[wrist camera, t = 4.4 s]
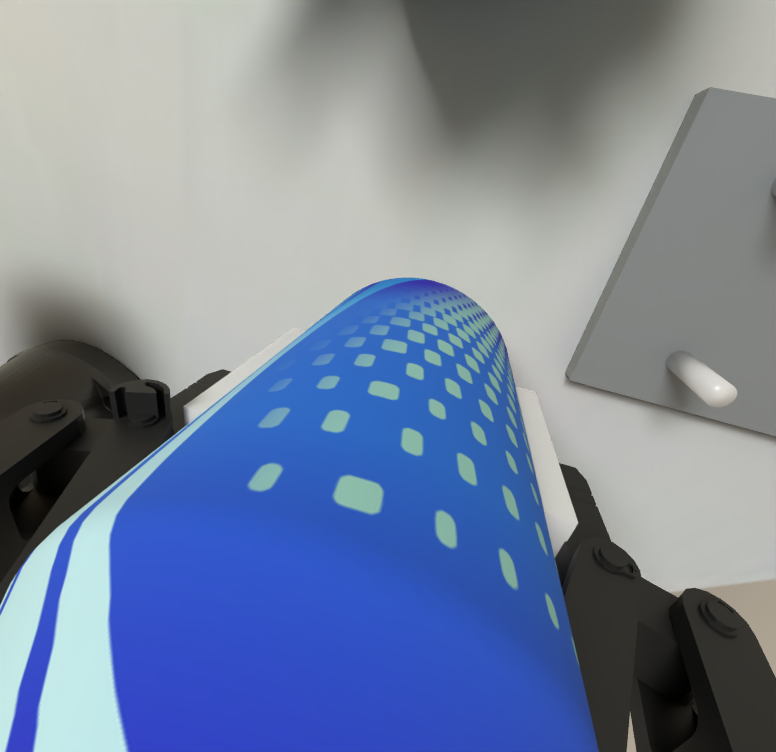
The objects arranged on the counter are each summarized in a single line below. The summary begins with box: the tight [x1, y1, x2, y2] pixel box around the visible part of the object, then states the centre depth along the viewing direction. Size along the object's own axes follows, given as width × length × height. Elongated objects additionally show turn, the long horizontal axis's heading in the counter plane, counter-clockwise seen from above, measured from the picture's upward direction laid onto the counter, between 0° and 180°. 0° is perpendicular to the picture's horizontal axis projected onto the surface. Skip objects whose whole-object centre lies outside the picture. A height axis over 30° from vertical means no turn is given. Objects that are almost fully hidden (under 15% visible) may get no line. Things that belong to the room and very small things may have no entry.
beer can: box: [0, 278, 599, 752], centre depth 10 cm, size 8×8×16 cm
